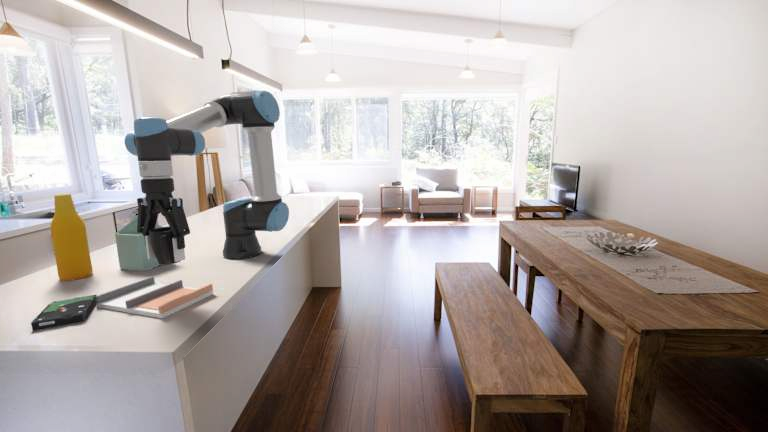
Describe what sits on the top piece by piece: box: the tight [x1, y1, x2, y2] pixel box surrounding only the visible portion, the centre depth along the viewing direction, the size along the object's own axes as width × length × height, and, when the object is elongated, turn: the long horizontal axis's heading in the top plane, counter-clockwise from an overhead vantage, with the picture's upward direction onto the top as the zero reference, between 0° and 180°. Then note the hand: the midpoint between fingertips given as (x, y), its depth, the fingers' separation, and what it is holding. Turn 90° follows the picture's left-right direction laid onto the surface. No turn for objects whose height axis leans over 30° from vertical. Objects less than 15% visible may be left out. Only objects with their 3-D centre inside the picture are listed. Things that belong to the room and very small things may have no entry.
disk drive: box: [30, 294, 98, 332], centre depth 96 cm, size 10×3×15 cm
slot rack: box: [95, 276, 214, 319], centre depth 104 cm, size 17×24×3 cm
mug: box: [149, 225, 181, 266], centre depth 99 cm, size 8×12×10 cm
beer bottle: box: [50, 193, 93, 282], centre depth 125 cm, size 9×9×29 cm
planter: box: [114, 215, 163, 272], centre depth 134 cm, size 16×8×20 cm, turn 117°
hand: (166, 259), depth 100 cm, fingers closed on mug, 9 cm apart
